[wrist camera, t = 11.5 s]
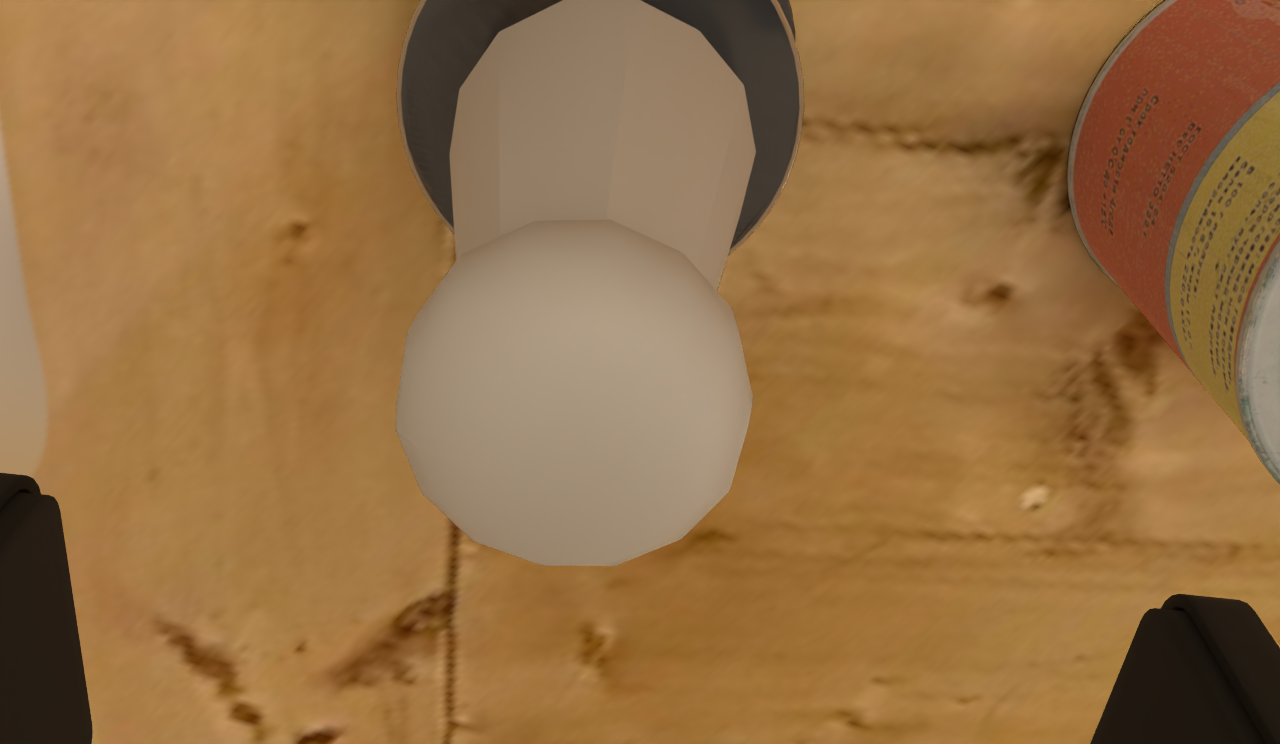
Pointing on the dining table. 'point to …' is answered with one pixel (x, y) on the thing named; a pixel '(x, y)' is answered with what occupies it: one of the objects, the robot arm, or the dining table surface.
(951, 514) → the dining table surface
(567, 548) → the salt shaker
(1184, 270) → the canned food
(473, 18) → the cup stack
